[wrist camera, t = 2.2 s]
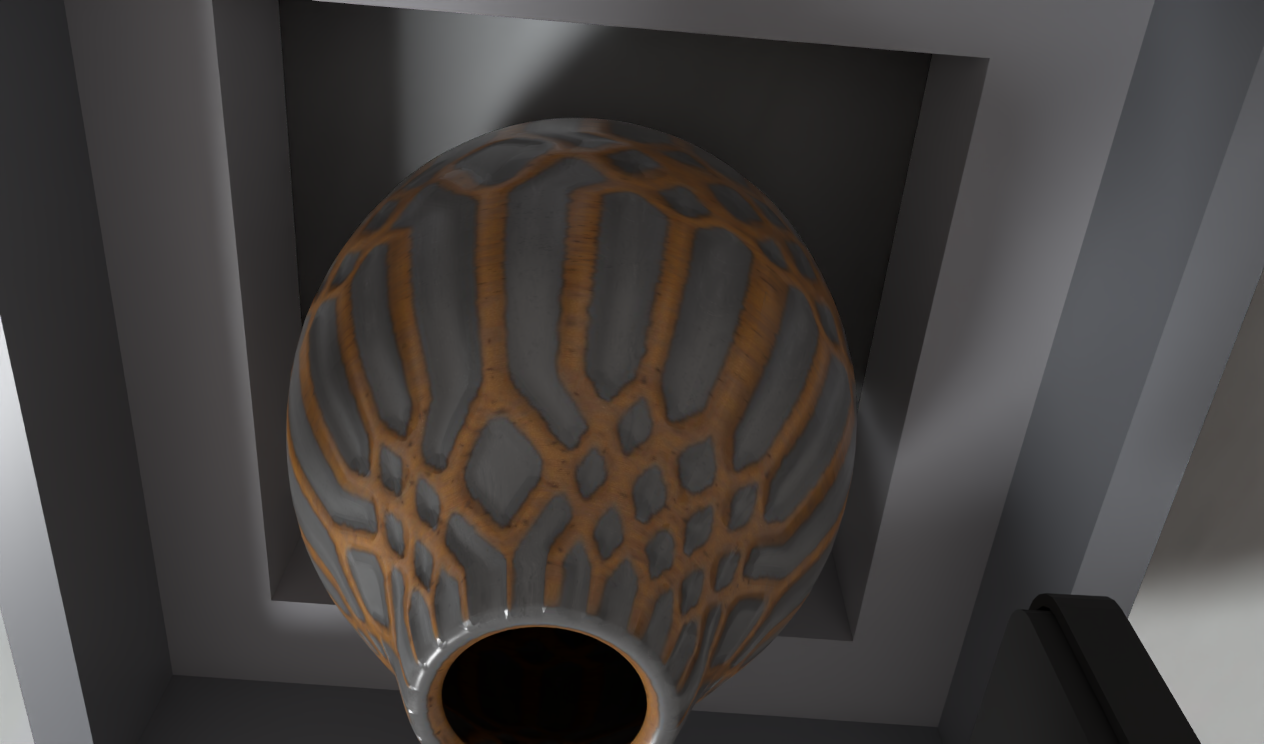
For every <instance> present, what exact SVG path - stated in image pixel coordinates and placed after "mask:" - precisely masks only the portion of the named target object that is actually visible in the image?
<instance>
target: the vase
mask: <svg viewBox="0 0 1264 744" xmlns="http://www.w3.org/2000/svg"><path fill="white" fill-rule="evenodd" d="M856 441H857V401H856V384H855V377H854V370H853V364H852V360H851V356H850V352H849V348H848V344H847V340H846V335H845V331H844V328H843V325H842V322H841V319H840V316H839V313H838V310H837V308H836V305H835V303H834V300H833V298H832V295H831V293H830V291H829V289H828V286H827V284H826V282H825V280H824V277H823V275H822V273H821V271H820V269H819V268H818V266H817V264H816V262H815V261H814V259H813V257H812V255H811V254H810V252H809V250H808V249H807V247H806V245H805V244H804V242H803V240H802V239H801V237H800V236H799V235H798V233H797V232H796V230H795V229H794V227H793V226H792V225H791V223H790V222H789V221H788V220H787V218H786V217H785V216H784V215H783V213H782V212H781V211H780V210H779V209H778V208H777V207H776V206H775V205H774V204H773V203H772V201H771V200H770V199H769V198H768V197H767V196H766V195H765V194H764V193H762V192H761V191H760V190H759V189H758V188H757V187H756V186H754V185H753V184H752V183H751V182H749V181H748V180H747V179H746V178H744V177H743V176H742V175H741V174H739V173H738V172H737V171H736V170H734V169H733V168H732V167H730V166H729V165H727V164H726V163H724V162H723V161H721V160H719V159H718V158H716V157H715V156H713V155H712V154H710V153H709V152H707V151H705V150H703V149H701V148H699V147H697V146H695V145H693V144H691V143H689V142H687V141H685V140H682V139H680V138H678V137H675V136H673V135H670V134H667V133H664V132H661V131H658V130H655V129H652V128H648V127H644V126H640V125H636V124H632V123H627V122H621V121H615V120H607V119H596V118H557V119H546V120H539V121H532V122H526V123H522V124H517V125H513V126H509V127H505V128H502V129H499V130H495V131H492V132H489V133H487V134H484V135H482V136H479V137H477V138H474V139H472V140H469V141H467V142H465V143H463V144H461V145H459V146H457V147H455V148H453V149H451V150H449V151H447V152H445V153H443V154H441V155H439V156H438V157H436V158H434V159H433V160H431V161H429V162H428V163H426V164H424V165H423V166H422V167H420V168H419V169H417V170H416V171H415V172H413V173H412V174H411V175H409V176H408V177H407V178H406V179H404V180H403V181H402V182H401V183H400V184H399V185H397V186H396V187H395V188H394V189H393V190H392V191H391V192H390V193H389V194H388V195H387V196H386V197H385V198H384V199H383V200H382V201H381V202H380V203H379V204H378V205H377V206H376V207H375V208H374V209H373V211H372V212H371V213H370V214H369V215H368V216H367V217H366V218H365V219H364V221H363V222H362V223H361V224H360V225H359V227H358V228H357V229H356V230H355V232H354V233H353V234H352V236H351V237H350V239H349V240H348V241H347V243H346V244H345V246H344V247H343V248H342V250H341V251H340V253H339V254H338V256H337V257H336V259H335V260H334V262H333V263H332V265H331V267H330V269H329V271H328V272H327V274H326V276H325V278H324V280H323V282H322V284H321V286H320V288H319V290H318V292H317V293H316V295H315V297H314V300H313V302H312V304H311V307H310V309H309V311H308V314H307V316H306V319H305V322H304V325H303V328H302V331H301V334H300V338H299V342H298V345H297V349H296V353H295V357H294V362H293V366H292V371H291V378H290V386H289V395H288V404H287V425H286V449H287V463H288V473H289V481H290V488H291V494H292V500H293V505H294V509H295V513H296V517H297V521H298V524H299V528H300V531H301V535H302V538H303V541H304V544H305V546H306V549H307V552H308V554H309V556H310V559H311V561H312V563H313V565H314V567H315V569H316V571H317V573H318V575H319V577H320V579H321V581H322V583H323V585H324V586H325V588H326V590H327V592H328V593H329V595H330V597H331V599H332V600H333V601H334V603H335V604H336V606H337V607H338V609H339V610H340V612H341V613H342V614H343V616H344V617H345V618H346V620H347V621H348V622H349V624H350V625H351V626H352V627H353V629H354V630H355V631H356V632H357V634H358V635H359V636H360V637H361V638H362V640H363V641H364V642H365V643H366V644H367V645H368V647H369V648H370V649H371V650H372V651H373V652H374V653H375V654H376V656H377V657H378V658H379V659H380V660H381V661H382V662H383V663H384V664H385V665H386V667H387V668H388V669H389V670H390V671H391V672H392V673H393V674H394V675H395V676H396V679H397V682H398V686H399V689H400V693H401V697H402V700H403V704H404V707H405V710H406V713H407V716H408V719H409V722H410V724H411V726H412V729H413V731H414V733H415V735H416V736H417V738H418V740H419V741H420V743H421V744H673V743H674V741H675V740H676V738H677V736H678V734H679V733H680V731H681V729H682V727H683V725H684V723H685V721H686V719H687V717H688V715H689V714H690V712H691V710H692V708H693V706H694V705H695V704H696V703H698V702H699V701H701V700H702V699H703V698H705V697H706V696H708V695H709V694H710V693H712V692H713V691H714V690H716V689H717V688H718V687H720V686H721V685H722V684H724V683H725V682H726V681H727V680H729V679H730V678H731V677H733V676H734V675H735V674H736V673H738V672H739V671H740V670H741V669H743V668H744V667H745V666H746V665H747V664H749V663H750V662H751V661H752V660H753V659H754V658H755V657H757V656H758V655H759V654H760V653H761V652H762V651H763V650H764V649H765V648H766V647H767V646H768V645H769V644H770V643H771V642H772V641H773V640H774V639H775V638H776V637H777V636H778V635H779V634H780V632H781V631H782V630H783V629H784V628H785V626H786V625H787V624H788V623H789V621H790V620H791V619H792V618H793V616H794V615H795V614H796V612H797V611H798V610H799V609H800V607H801V606H802V604H803V603H804V601H805V600H806V598H807V597H808V595H809V594H810V592H811V590H812V588H813V586H814V584H815V583H816V581H817V579H818V577H819V575H820V573H821V571H822V569H823V567H824V565H825V564H826V561H827V559H828V557H829V554H830V552H831V550H832V547H833V544H834V541H835V539H836V536H837V533H838V530H839V527H840V524H841V521H842V518H843V515H844V511H845V506H846V502H847V498H848V493H849V489H850V484H851V480H852V474H853V466H854V459H855V450H856Z"/></svg>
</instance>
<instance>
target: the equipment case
mask: <svg viewBox="0 0 1264 744" xmlns="http://www.w3.org/2000/svg"><path fill="white" fill-rule="evenodd" d="M314 1H326V2H338V3H349V4H361V5H373V6H384V7H396V8H408V9H419V10H431V11H443V12H455V13H466V14H478V15H490V16H501V17H513V18H525V19H536V20H548V21H560V22H571V23H583V24H595V25H606V26H618V27H630V28H641V29H653V30H665V31H676V32H688V33H700V34H711V35H723V36H735V37H747V38H758V39H770V40H782V41H793V42H805V43H817V44H828V45H840V46H852V47H863V48H875V49H887V50H898V51H910V52H922V53H932V58H931V63H930V68H929V73H928V77H927V82H926V87H925V92H924V96H923V101H922V106H921V111H920V116H919V120H918V125H917V130H916V135H915V139H914V144H913V149H912V154H911V159H910V163H909V168H908V173H907V178H906V182H905V187H904V192H903V197H902V201H901V206H900V211H899V216H898V221H897V225H896V230H895V235H894V240H893V244H892V249H891V254H890V259H889V264H888V268H887V273H886V278H885V283H884V287H883V292H882V297H881V302H880V307H879V311H878V316H877V321H876V326H875V330H874V335H873V340H872V345H871V349H870V354H869V359H868V364H867V369H866V373H865V378H864V383H863V388H862V392H861V397H860V402H859V407H858V412H857V441H856V450H855V459H854V466H853V474H852V480H851V484H850V489H849V493H848V498H847V502H846V506H845V511H844V515H843V518H842V521H841V524H840V527H839V530H838V533H837V536H836V539H835V541H834V544H833V547H832V550H831V552H830V554H829V557H828V559H827V561H826V564H825V565H824V567H823V569H822V571H821V573H820V575H819V577H818V579H817V581H816V583H815V584H814V586H813V588H812V590H811V592H810V594H809V595H808V597H807V598H806V600H805V601H804V603H803V604H802V606H801V607H800V609H799V610H798V611H797V612H796V614H795V615H794V616H793V618H792V619H791V620H790V621H789V623H788V624H787V625H786V626H785V628H784V629H783V630H782V631H781V632H780V634H779V635H778V636H777V637H776V638H775V639H774V640H773V641H772V642H771V643H770V644H769V645H768V646H767V647H766V648H765V649H764V650H763V651H762V652H761V653H760V654H759V655H758V656H757V657H755V658H754V659H753V660H752V661H751V662H750V663H749V664H747V665H746V666H745V667H744V668H743V669H741V670H740V671H739V672H738V673H736V674H735V675H734V676H733V677H731V678H730V679H729V680H727V681H726V682H725V683H724V684H722V685H721V686H720V687H718V688H717V689H716V690H714V691H713V692H712V693H710V694H709V695H708V696H706V697H705V698H703V699H702V700H701V701H699V702H698V703H696V704H695V705H694V706H693V708H692V710H691V712H690V714H689V715H688V717H687V719H686V721H685V723H684V725H683V727H682V729H681V731H680V733H679V734H678V736H677V738H676V740H675V741H674V743H673V744H969V740H970V737H971V734H972V731H973V728H974V725H975V722H976V719H977V716H978V713H979V710H980V707H981V704H982V701H983V698H984V695H985V691H986V688H987V685H988V682H989V679H990V676H991V673H992V670H993V667H994V664H995V661H996V658H997V655H998V652H999V649H1000V646H1001V642H1002V639H1003V636H1004V633H1005V630H1006V627H1007V624H1008V621H1009V619H1010V617H1011V615H1012V613H1013V612H1014V611H1015V610H1019V609H1025V610H1028V609H1029V607H1030V605H1031V603H1032V601H1033V600H1034V599H1035V598H1036V597H1037V596H1038V595H1039V594H1043V593H1052V594H1071V595H1091V596H1107V597H1109V598H1111V599H1113V600H1115V601H1116V603H1117V604H1118V605H1119V606H1120V608H1121V609H1122V610H1123V612H1124V614H1125V616H1126V617H1127V619H1128V616H1129V614H1130V611H1131V609H1132V606H1133V604H1134V601H1135V598H1136V596H1137V593H1138V591H1139V588H1140V586H1141V583H1142V580H1143V578H1144V575H1145V573H1146V570H1147V568H1148V565H1149V562H1150V560H1151V557H1152V555H1153V552H1154V550H1155V547H1156V544H1157V542H1158V539H1159V537H1160V534H1161V532H1162V529H1163V526H1164V524H1165V521H1166V519H1167V516H1168V514H1169V511H1170V508H1171V506H1172V503H1173V501H1174V498H1175V495H1176V493H1177V490H1178V488H1179V485H1180V483H1181V480H1182V477H1183V475H1184V472H1185V470H1186V467H1187V465H1188V462H1189V459H1190V457H1191V454H1192V452H1193V449H1194V447H1195V444H1196V441H1197V439H1198V436H1199V434H1200V431H1201V429H1202V426H1203V423H1204V421H1205V418H1206V416H1207V413H1208V411H1209V408H1210V405H1211V403H1212V400H1213V398H1214V395H1215V392H1216V390H1217V387H1218V385H1219V382H1220V380H1221V377H1222V374H1223V372H1224V369H1225V367H1226V364H1227V362H1228V359H1229V356H1230V354H1231V351H1232V349H1233V346H1234V344H1235V341H1236V338H1237V336H1238V333H1239V331H1240V328H1241V326H1242V323H1243V320H1244V318H1245V315H1246V313H1247V310H1248V308H1249V305H1250V302H1251V300H1252V297H1253V295H1254V292H1255V290H1256V287H1257V284H1258V282H1259V279H1260V277H1261V274H1262V271H1263V269H1264V0H314ZM301 331H302V325H301V311H300V297H299V282H298V268H297V254H296V240H295V226H294V212H293V198H292V184H291V170H290V156H289V142H288V128H287V114H286V100H285V86H284V72H283V58H282V44H281V30H280V16H279V2H278V0H0V609H1V613H2V617H3V621H4V625H5V629H6V633H7V637H8V641H9V645H10V649H11V653H12V657H13V661H14V665H15V668H16V672H17V676H18V680H19V684H20V688H21V692H22V696H23V700H24V704H25V708H26V712H27V716H28V720H29V724H30V728H31V732H32V736H33V739H34V743H35V744H421V743H420V741H419V740H418V738H417V736H416V735H415V733H414V731H413V729H412V726H411V724H410V722H409V719H408V716H407V713H406V710H405V707H404V704H403V700H402V697H401V693H400V689H399V686H398V682H397V679H396V676H395V675H394V674H393V673H392V672H391V671H390V670H389V669H388V668H387V667H386V665H385V664H384V663H383V662H382V661H381V660H380V659H379V658H378V657H377V656H376V654H375V653H374V652H373V651H372V650H371V649H370V648H369V647H368V645H367V644H366V643H365V642H364V641H363V640H362V638H361V637H360V636H359V635H358V634H357V632H356V631H355V630H354V629H353V627H352V626H351V625H350V624H349V622H348V621H347V620H346V618H345V617H344V616H343V614H342V613H341V612H340V610H339V609H338V607H337V606H336V604H335V603H334V601H333V600H332V599H331V597H330V595H329V593H328V592H327V590H326V588H325V586H324V585H323V583H322V581H321V579H320V577H319V575H318V573H317V571H316V569H315V567H314V565H313V563H312V561H311V559H310V556H309V554H308V552H307V549H306V546H305V544H304V541H303V538H302V535H301V531H300V528H299V524H298V521H297V517H296V513H295V509H294V505H293V500H292V494H291V488H290V481H289V473H288V463H287V449H286V425H287V404H288V395H289V386H290V378H291V371H292V366H293V362H294V357H295V353H296V349H297V345H298V342H299V338H300V334H301Z"/></svg>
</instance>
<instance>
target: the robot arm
mask: <svg viewBox="0 0 1264 744" xmlns="http://www.w3.org/2000/svg"><path fill="white" fill-rule="evenodd" d="M969 744H1201V743H1200V741H1199V739H1198V738H1197V736H1196V734H1195V733H1194V731H1193V729H1192V728H1191V726H1190V724H1189V722H1188V721H1187V719H1186V717H1185V716H1184V714H1183V712H1182V711H1181V709H1180V707H1179V705H1178V704H1177V702H1176V700H1175V699H1174V697H1173V695H1172V694H1171V692H1170V690H1169V688H1168V687H1167V685H1166V683H1165V682H1164V680H1163V678H1162V677H1161V675H1160V673H1159V672H1158V670H1157V668H1156V666H1155V665H1154V663H1153V661H1152V660H1151V658H1150V656H1149V655H1148V653H1147V651H1146V649H1145V648H1144V646H1143V644H1142V643H1141V641H1140V639H1139V638H1138V636H1137V634H1136V632H1135V631H1134V629H1133V627H1132V626H1131V624H1130V622H1129V621H1128V619H1127V617H1126V616H1125V614H1124V612H1123V610H1122V609H1121V608H1120V606H1119V605H1118V604H1117V603H1116V601H1115V600H1113V599H1111V598H1109V597H1107V596H1091V595H1071V594H1052V593H1043V594H1039V595H1038V596H1037V597H1036V598H1035V599H1034V600H1033V601H1032V603H1031V605H1030V607H1029V609H1028V610H1025V609H1019V610H1015V611H1014V612H1013V613H1012V615H1011V617H1010V619H1009V621H1008V624H1007V627H1006V630H1005V633H1004V636H1003V639H1002V642H1001V646H1000V649H999V652H998V655H997V658H996V661H995V664H994V667H993V670H992V673H991V676H990V679H989V682H988V685H987V688H986V691H985V695H984V698H983V701H982V704H981V707H980V710H979V713H978V716H977V719H976V722H975V725H974V728H973V731H972V734H971V737H970V740H969Z"/></svg>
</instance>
